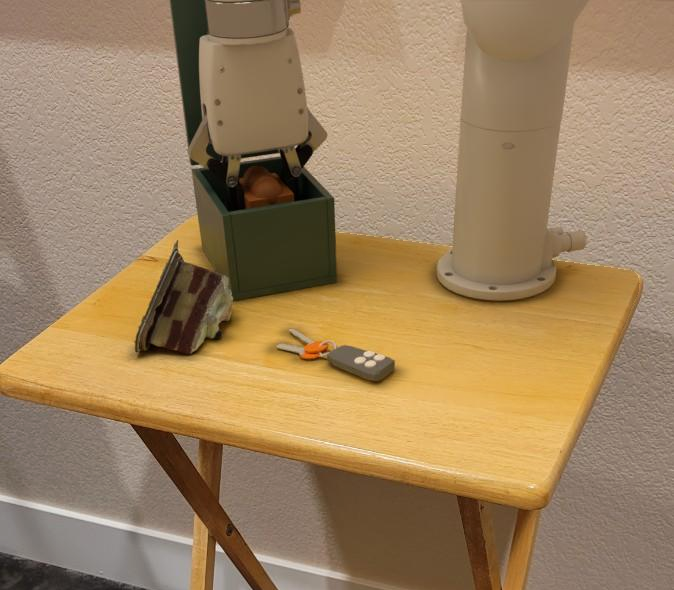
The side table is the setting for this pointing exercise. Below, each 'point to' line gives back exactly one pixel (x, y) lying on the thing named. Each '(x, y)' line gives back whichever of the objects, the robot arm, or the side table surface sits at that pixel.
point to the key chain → (345, 357)
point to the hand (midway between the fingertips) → (265, 215)
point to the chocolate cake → (185, 307)
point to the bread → (264, 188)
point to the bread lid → (193, 66)
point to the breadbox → (268, 235)
